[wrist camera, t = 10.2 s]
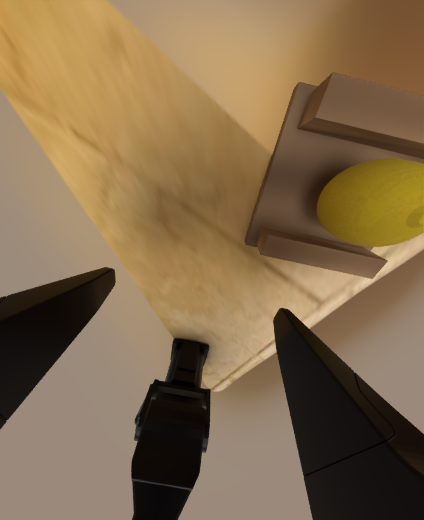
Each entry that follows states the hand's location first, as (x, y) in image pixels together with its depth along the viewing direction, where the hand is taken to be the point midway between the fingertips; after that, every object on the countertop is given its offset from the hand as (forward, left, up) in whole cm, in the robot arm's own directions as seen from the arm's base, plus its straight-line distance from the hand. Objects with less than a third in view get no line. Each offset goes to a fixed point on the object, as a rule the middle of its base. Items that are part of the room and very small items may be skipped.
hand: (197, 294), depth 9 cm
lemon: (+6, -10, -10) cm, 16 cm away
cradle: (+6, -10, -11) cm, 16 cm away
